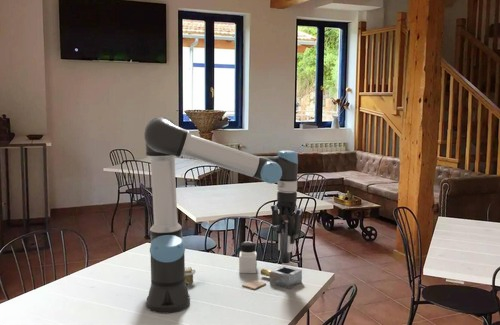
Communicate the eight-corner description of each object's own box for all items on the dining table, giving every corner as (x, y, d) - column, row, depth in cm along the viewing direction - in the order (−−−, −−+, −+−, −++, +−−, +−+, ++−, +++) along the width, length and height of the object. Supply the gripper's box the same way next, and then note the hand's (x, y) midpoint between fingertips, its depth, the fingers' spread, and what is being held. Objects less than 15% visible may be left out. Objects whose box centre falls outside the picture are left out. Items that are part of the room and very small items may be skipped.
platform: (209, 287, 194) (209, 271, 194) (162, 293, 189) (162, 276, 188) (202, 277, 206) (202, 261, 205) (157, 282, 200) (157, 266, 199)
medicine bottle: (256, 273, 209) (256, 245, 207) (239, 273, 209) (239, 245, 208) (256, 267, 216) (256, 240, 214) (239, 267, 216) (239, 240, 215)
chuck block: (289, 288, 192) (289, 276, 192) (255, 279, 202) (255, 267, 201) (301, 282, 199) (301, 269, 199) (268, 273, 209) (268, 261, 208)
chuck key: (283, 259, 200) (284, 220, 198) (291, 261, 198) (292, 221, 196) (269, 266, 192) (270, 224, 190) (277, 268, 190) (278, 226, 188)
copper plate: (254, 290, 191) (254, 288, 191) (242, 286, 195) (242, 284, 195) (265, 284, 196) (265, 283, 196) (253, 281, 200) (253, 279, 200)
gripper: (263, 189, 196) (262, 248, 199) (300, 195, 186) (298, 257, 189) (275, 187, 202) (273, 244, 205) (310, 192, 192) (308, 252, 195)
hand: (285, 250), depth 197 cm, fingers closed on chuck key, 3 cm apart
